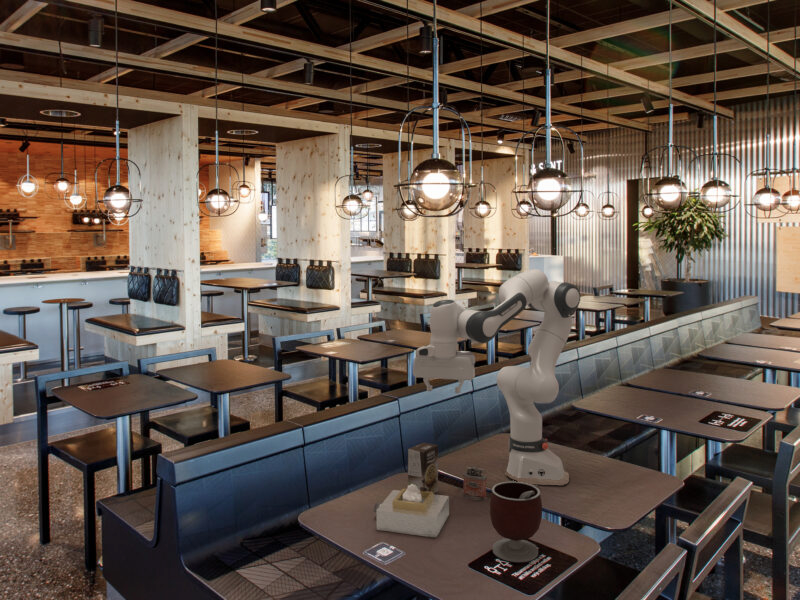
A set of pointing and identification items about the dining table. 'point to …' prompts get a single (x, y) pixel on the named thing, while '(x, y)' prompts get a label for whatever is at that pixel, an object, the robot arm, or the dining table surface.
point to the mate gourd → (515, 519)
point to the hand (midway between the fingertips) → (443, 391)
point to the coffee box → (423, 467)
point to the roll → (412, 494)
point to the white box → (413, 514)
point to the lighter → (474, 483)
